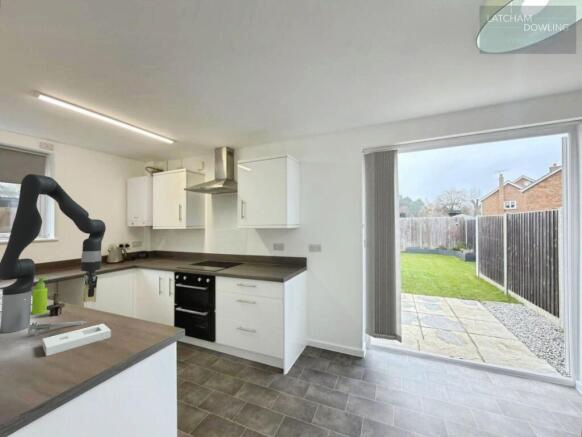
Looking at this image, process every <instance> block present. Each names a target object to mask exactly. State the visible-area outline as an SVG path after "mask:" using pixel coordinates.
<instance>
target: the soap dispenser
mask: <svg viewBox="0 0 582 437" xmlns="http://www.w3.org/2000/svg"><path fill="white" fill-rule="evenodd" d="M48 279H50V278H49V277H47V276H42V277H37V278H36V280H38V282H37V283H36V285H35V289H32V296H31V315H39V314H45V313H47V311H48V310H47V306H48V288H47V287H45V286H46V282H44V280H48Z"/></svg>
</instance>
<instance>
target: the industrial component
mask: <svg viewBox="0 0 582 437" xmlns="http://www.w3.org/2000/svg"><path fill="white" fill-rule="evenodd" d="M65 306H66V303H64V302H61V303H60V292H54V293H53V303H52V304H48V305H47V311H49V316H50V317H55V316H60V315H62V310H63V308H65Z"/></svg>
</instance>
